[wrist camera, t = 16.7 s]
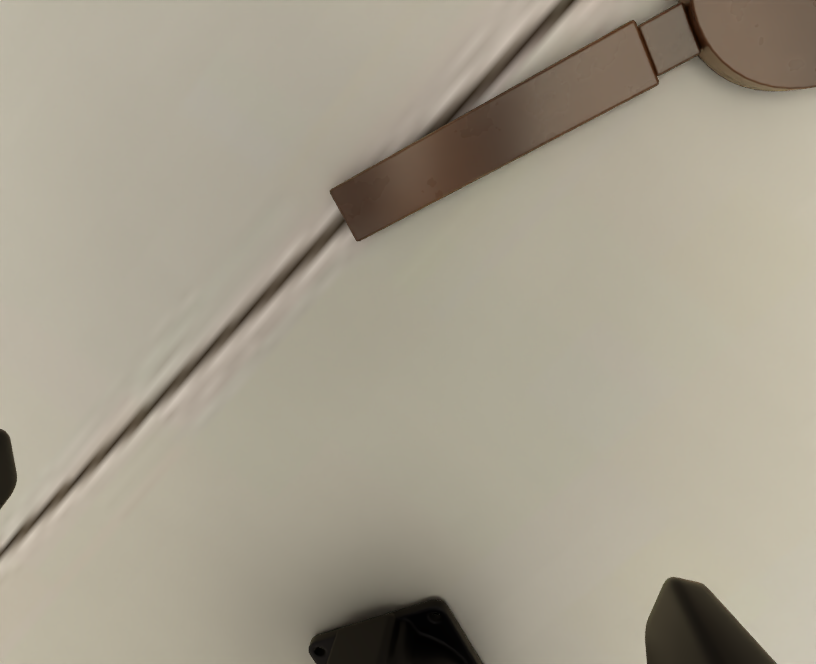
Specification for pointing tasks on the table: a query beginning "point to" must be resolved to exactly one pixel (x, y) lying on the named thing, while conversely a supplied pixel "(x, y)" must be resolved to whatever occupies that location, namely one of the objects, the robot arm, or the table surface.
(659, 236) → the table surface
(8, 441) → the robot arm
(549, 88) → the wooden spoon
